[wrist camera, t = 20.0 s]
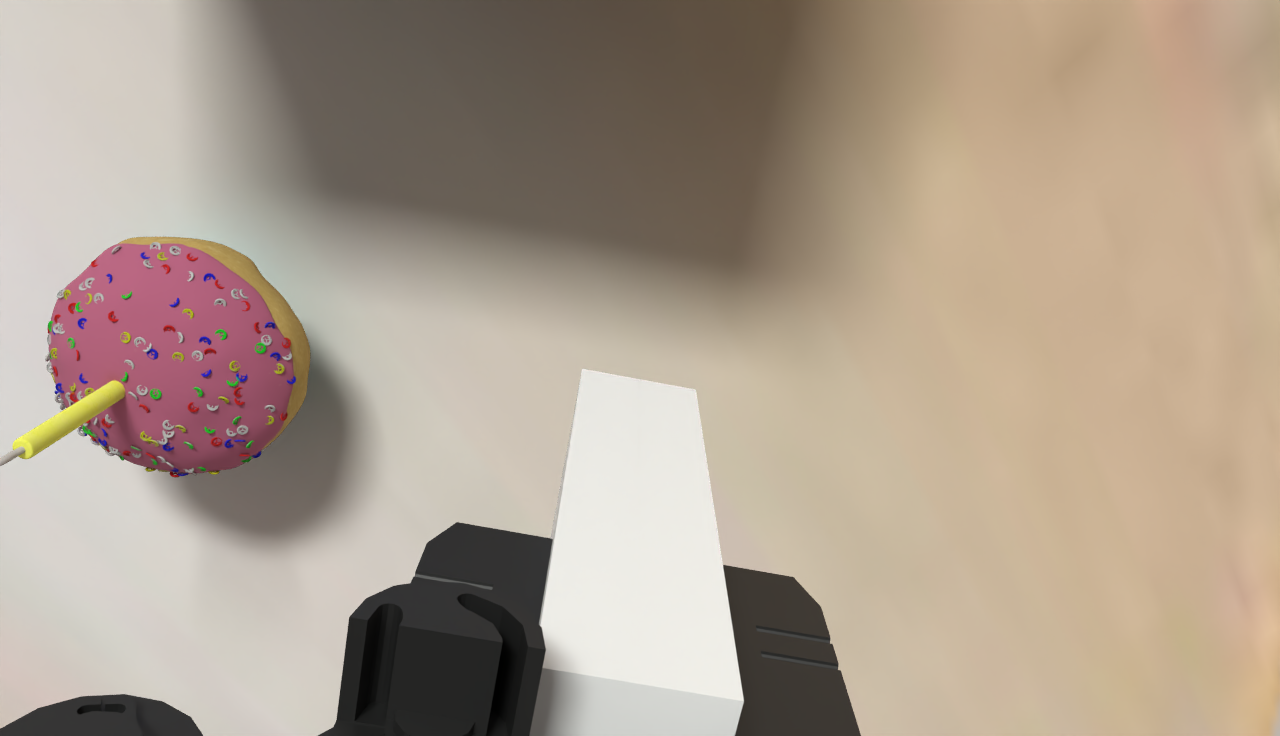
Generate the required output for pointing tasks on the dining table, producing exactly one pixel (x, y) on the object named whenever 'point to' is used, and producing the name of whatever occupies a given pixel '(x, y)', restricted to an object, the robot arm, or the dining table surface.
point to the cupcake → (173, 358)
